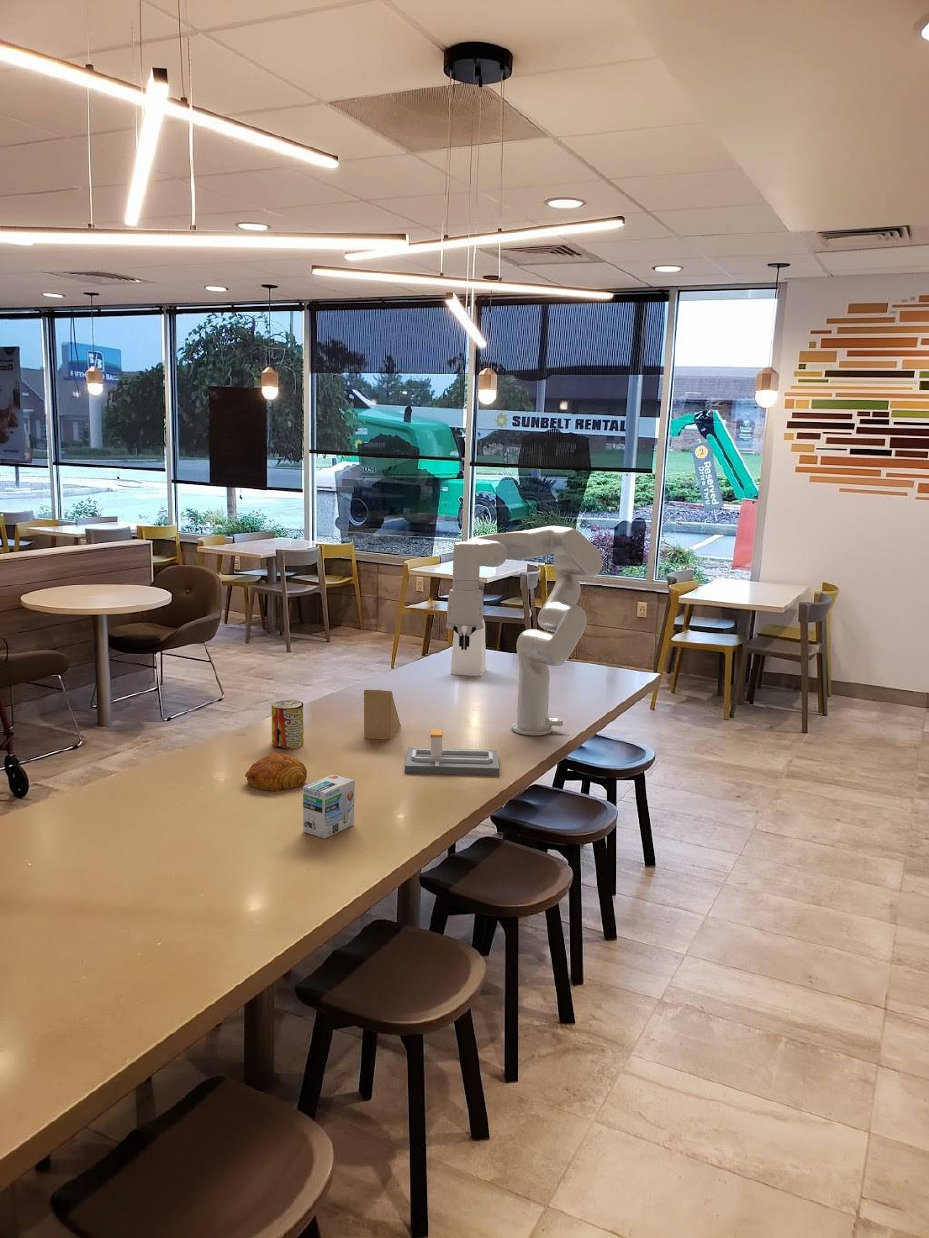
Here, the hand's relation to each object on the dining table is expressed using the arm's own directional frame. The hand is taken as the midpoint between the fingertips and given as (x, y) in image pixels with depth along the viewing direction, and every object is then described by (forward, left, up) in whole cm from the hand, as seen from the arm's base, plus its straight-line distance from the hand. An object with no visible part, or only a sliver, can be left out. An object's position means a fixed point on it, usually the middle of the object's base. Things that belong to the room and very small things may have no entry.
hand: (464, 648), depth 266 cm
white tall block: (-3, -93, -29) cm, 98 cm away
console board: (+3, +16, -29) cm, 33 cm away
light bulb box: (+30, +61, -29) cm, 74 cm away
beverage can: (+50, +2, -29) cm, 58 cm away
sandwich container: (+24, -13, -30) cm, 40 cm away
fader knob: (+7, +16, -27) cm, 32 cm away
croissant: (+48, +32, -30) cm, 65 cm away
